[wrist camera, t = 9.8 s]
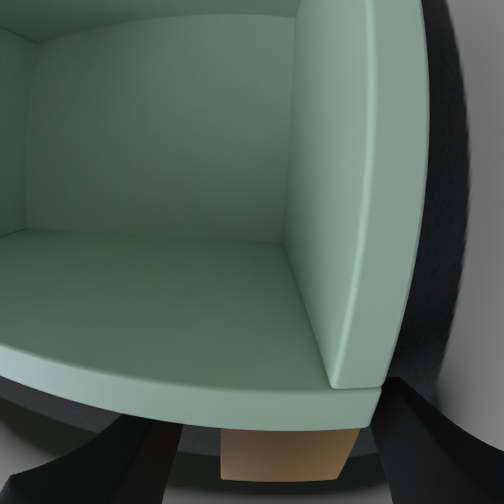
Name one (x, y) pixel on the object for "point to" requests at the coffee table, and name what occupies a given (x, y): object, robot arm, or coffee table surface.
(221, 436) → the block
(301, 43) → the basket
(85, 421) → the coffee table surface
